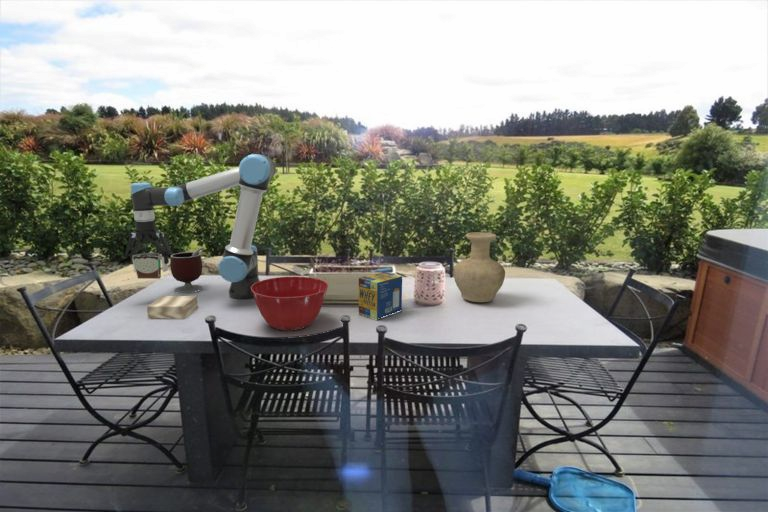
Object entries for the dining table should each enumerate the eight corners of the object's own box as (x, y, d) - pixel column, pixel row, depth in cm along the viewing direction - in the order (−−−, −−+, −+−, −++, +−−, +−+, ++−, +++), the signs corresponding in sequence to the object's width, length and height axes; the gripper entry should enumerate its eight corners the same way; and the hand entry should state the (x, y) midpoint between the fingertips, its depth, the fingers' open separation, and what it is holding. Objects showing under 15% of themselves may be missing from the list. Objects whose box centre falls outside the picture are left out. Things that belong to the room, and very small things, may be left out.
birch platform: (198, 307, 191) (197, 296, 190) (184, 318, 177) (183, 306, 176) (164, 307, 191) (163, 295, 190) (148, 318, 177) (146, 306, 176)
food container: (170, 275, 195) (167, 252, 193) (162, 278, 189) (159, 255, 187) (143, 274, 196) (140, 252, 194) (134, 278, 190) (131, 255, 188)
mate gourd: (178, 295, 207) (174, 252, 203) (168, 289, 217) (164, 248, 213) (212, 289, 217) (209, 248, 213) (200, 283, 227) (197, 244, 223)
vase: (508, 308, 193) (513, 239, 186) (456, 307, 193) (459, 238, 187) (497, 293, 215) (500, 230, 208) (449, 292, 215) (452, 230, 209)
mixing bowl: (332, 312, 186) (332, 275, 183) (323, 339, 158) (322, 296, 155) (264, 311, 186) (262, 275, 183) (243, 338, 158) (240, 296, 155)
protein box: (358, 314, 183) (357, 277, 180) (383, 306, 194) (384, 271, 191) (376, 321, 176) (376, 282, 173) (402, 311, 188) (403, 275, 184)
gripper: (110, 222, 184) (118, 273, 189) (169, 221, 184) (175, 273, 189) (121, 219, 191) (127, 269, 196) (177, 218, 192) (182, 268, 196)
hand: (151, 271), depth 192 cm, fingers closed on food container, 11 cm apart
